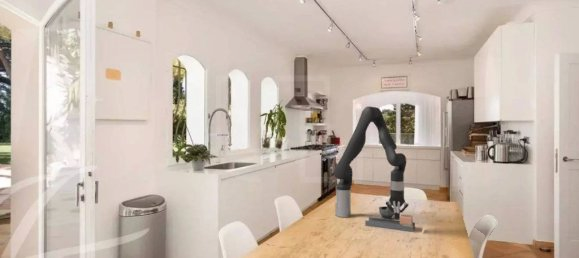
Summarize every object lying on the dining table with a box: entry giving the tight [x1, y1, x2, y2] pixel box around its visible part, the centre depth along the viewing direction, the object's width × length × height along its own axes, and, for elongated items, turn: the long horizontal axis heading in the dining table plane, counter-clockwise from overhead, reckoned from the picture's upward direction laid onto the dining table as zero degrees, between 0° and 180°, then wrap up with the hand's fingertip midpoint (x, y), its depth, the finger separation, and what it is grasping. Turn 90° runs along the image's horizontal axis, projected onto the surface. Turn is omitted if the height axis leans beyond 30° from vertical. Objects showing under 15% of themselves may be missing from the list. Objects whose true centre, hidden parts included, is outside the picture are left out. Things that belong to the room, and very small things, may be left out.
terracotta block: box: [399, 213, 414, 226], centre depth 192 cm, size 6×6×7 cm
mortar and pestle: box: [378, 203, 394, 220], centre depth 215 cm, size 11×9×12 cm
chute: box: [364, 216, 416, 233], centre depth 196 cm, size 26×9×4 cm, turn 63°
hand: (396, 219), depth 194 cm, fingers closed
